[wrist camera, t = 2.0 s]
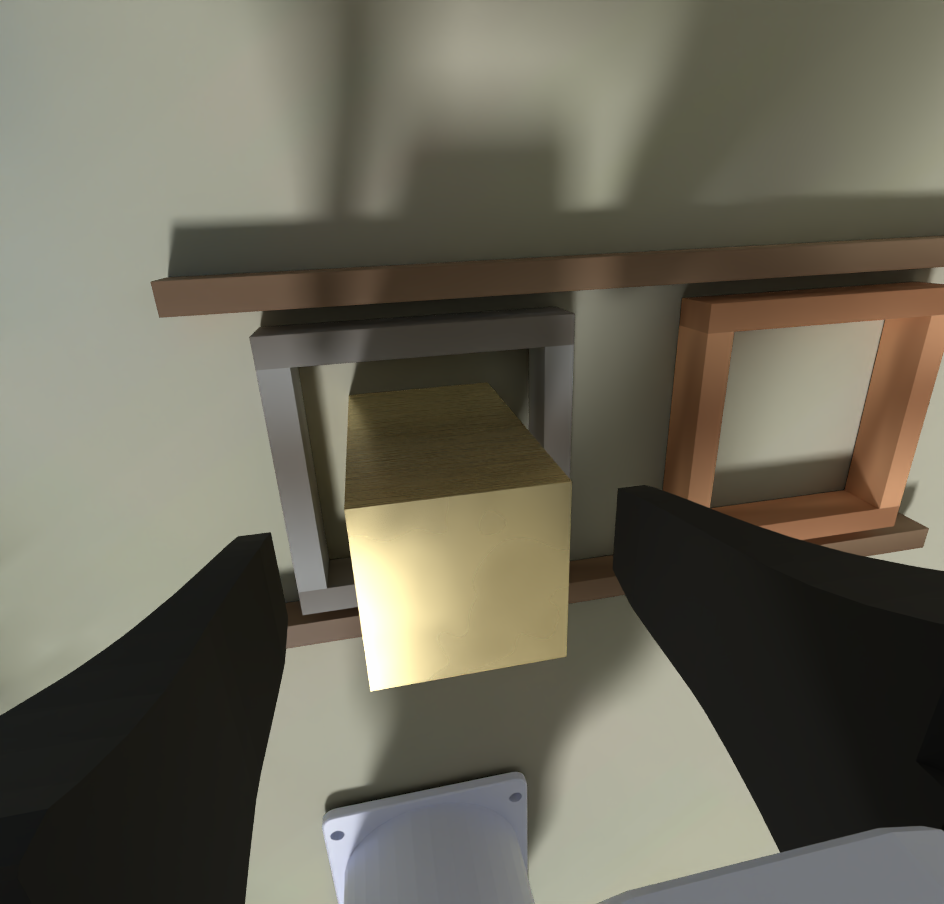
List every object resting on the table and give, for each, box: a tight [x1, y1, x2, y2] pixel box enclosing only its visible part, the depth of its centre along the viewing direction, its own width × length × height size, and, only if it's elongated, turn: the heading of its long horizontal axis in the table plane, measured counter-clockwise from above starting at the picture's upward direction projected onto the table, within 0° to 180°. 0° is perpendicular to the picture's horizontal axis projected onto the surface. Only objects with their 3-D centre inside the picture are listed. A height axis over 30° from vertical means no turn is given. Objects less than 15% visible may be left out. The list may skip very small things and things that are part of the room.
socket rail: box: [151, 236, 944, 649], centre depth 17 cm, size 11×24×2 cm, turn 92°
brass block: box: [344, 383, 572, 691], centre depth 14 cm, size 4×4×7 cm
